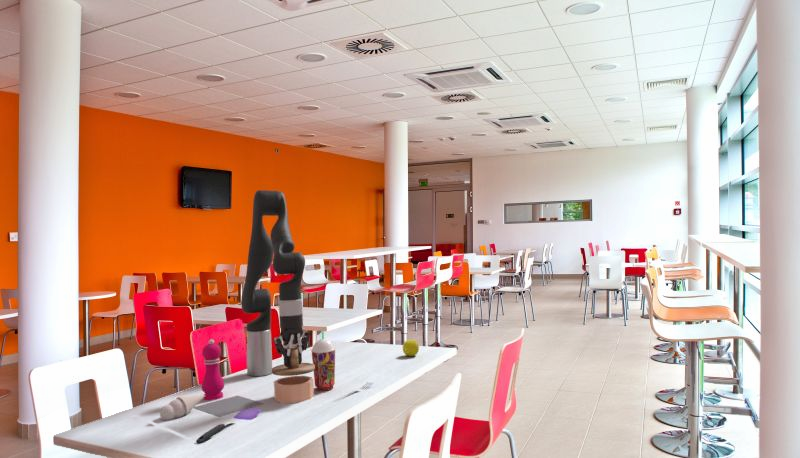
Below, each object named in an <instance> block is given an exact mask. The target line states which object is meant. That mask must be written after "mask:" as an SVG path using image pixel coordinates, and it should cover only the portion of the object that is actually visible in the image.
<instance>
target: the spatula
mask: <svg viewBox="0 0 800 458" xmlns="http://www.w3.org/2000/svg"><path fill="white" fill-rule="evenodd" d="M260 412H261V409H258V408H249V409H245V410H242V411H238V412H237V414H236V415H235V416H234V417H233V419H235V420H236V419H237V420H245V421H246V420H247V421H248V420H249V421H252V420H253V419H254V418H256V417H257V416H258V415H259V414H260ZM229 425H236V422H233V421H228V422H224V423H219V424H217V425H215V426H214V427H213V428H211V429H209V430H208V431H206V432H204V433H203V434H202V435H200V436H199V437H198V438H197V439H196V440H195V442H196V444H198V445H199V444H204V443H206V442H207V441H210V440H211V439H212V438H213V437H214V436H215V435H217V434H218V433H219V432H221V431H222V430H224V429H225V427H227V426H229Z"/></svg>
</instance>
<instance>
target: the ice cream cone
mask: <svg viewBox="0 0 800 458" xmlns="http://www.w3.org/2000/svg"><path fill="white" fill-rule="evenodd" d="M205 396H206V395H205ZM205 396H203V395H194V396H192V395H191V396H190V395H189V396H178V397H176V399H173V400H172V401H170V402H169V403H168V404H167V405H164V406H162V408H161V409H160V412H159V416H160V418H161V419H162V420H163V421H171V420H173V419H177V418H182V417H183V416H187V415H189V413H190V412H191V411H192V410H193V409H195V408H194V407H196V406H197V405H198V404H199V403H200V402H201V401H202V400H204V397H205Z"/></svg>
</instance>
